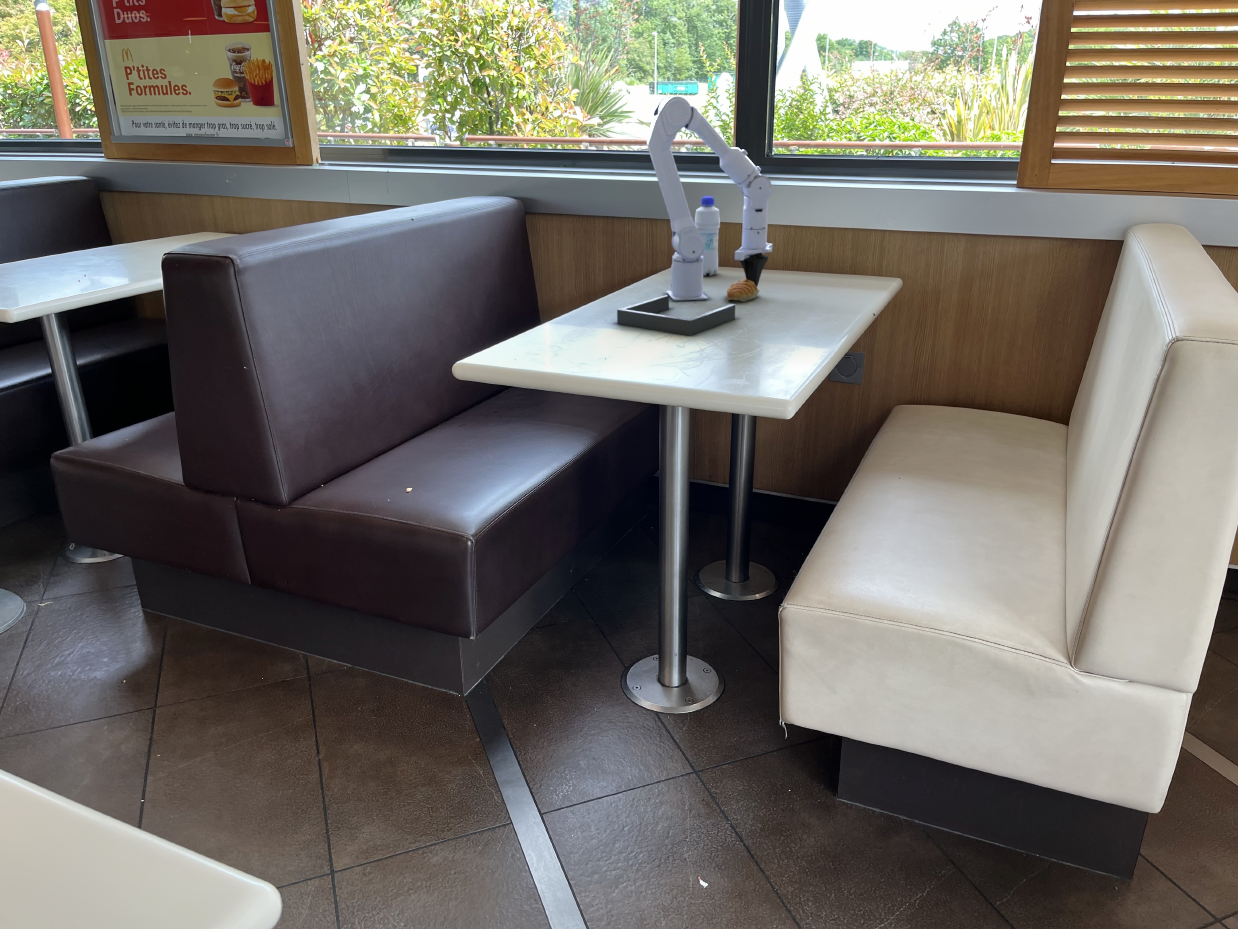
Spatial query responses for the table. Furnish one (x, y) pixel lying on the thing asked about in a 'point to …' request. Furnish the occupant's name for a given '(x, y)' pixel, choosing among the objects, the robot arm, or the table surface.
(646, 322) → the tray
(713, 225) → the bottle
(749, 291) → the pastry
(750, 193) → the robot arm
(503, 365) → the table surface
